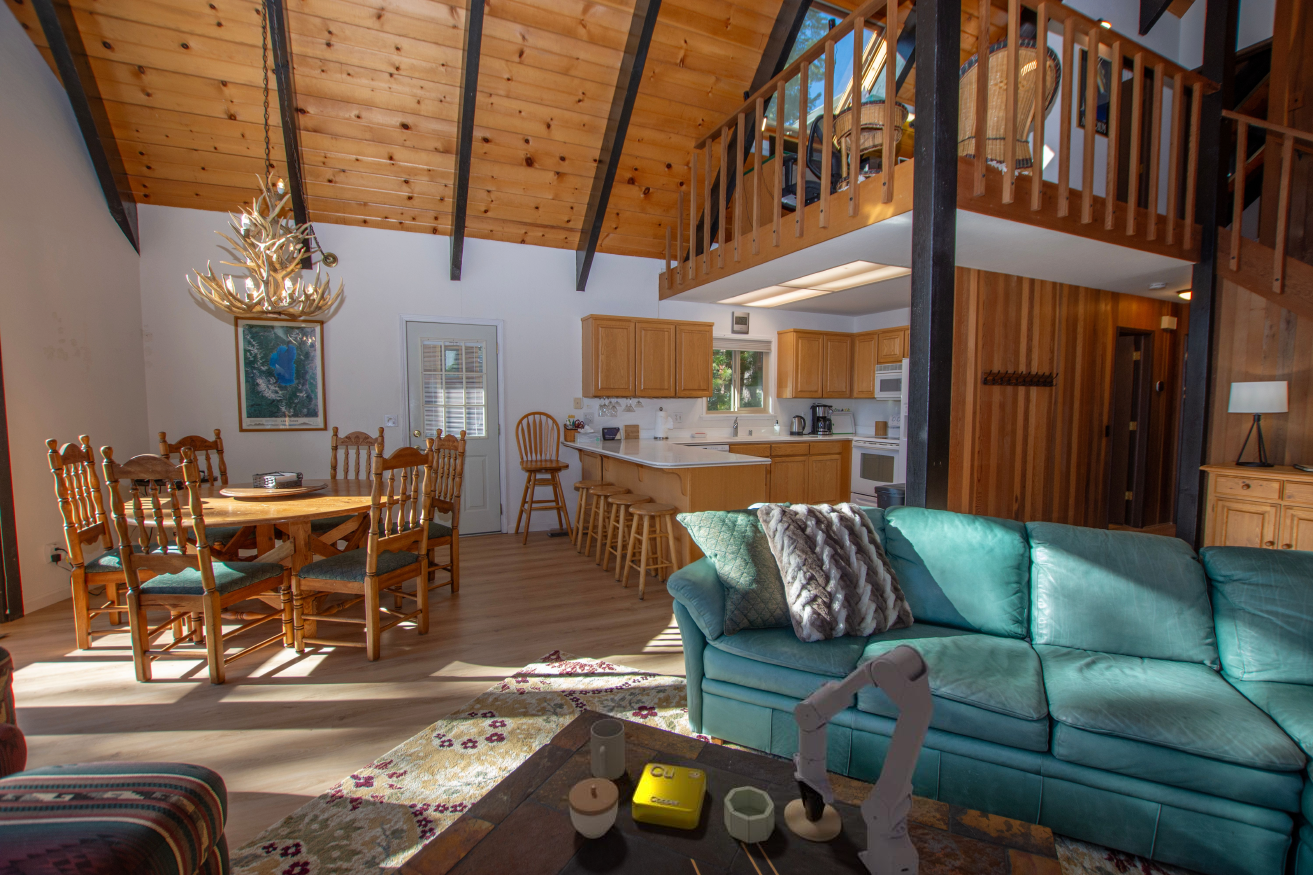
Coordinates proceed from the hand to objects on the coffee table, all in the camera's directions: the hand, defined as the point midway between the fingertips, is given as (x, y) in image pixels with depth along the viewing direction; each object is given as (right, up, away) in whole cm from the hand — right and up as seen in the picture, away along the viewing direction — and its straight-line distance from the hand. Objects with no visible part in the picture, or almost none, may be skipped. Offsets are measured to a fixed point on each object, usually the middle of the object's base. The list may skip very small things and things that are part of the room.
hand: (812, 812), depth 124 cm
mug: (-47, -2, +16) cm, 49 cm away
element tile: (-31, -2, +7) cm, 32 cm away
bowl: (-14, -2, -1) cm, 14 cm away
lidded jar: (-48, -3, -1) cm, 48 cm away
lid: (0, -2, 0) cm, 2 cm away
